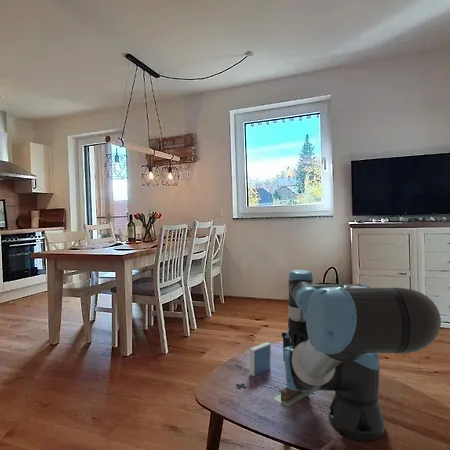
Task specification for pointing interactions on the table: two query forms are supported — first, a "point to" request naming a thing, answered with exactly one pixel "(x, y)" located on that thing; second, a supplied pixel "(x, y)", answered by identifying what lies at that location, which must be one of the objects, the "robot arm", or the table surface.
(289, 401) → the rest board
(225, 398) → the table surface
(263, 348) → the tile
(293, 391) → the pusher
